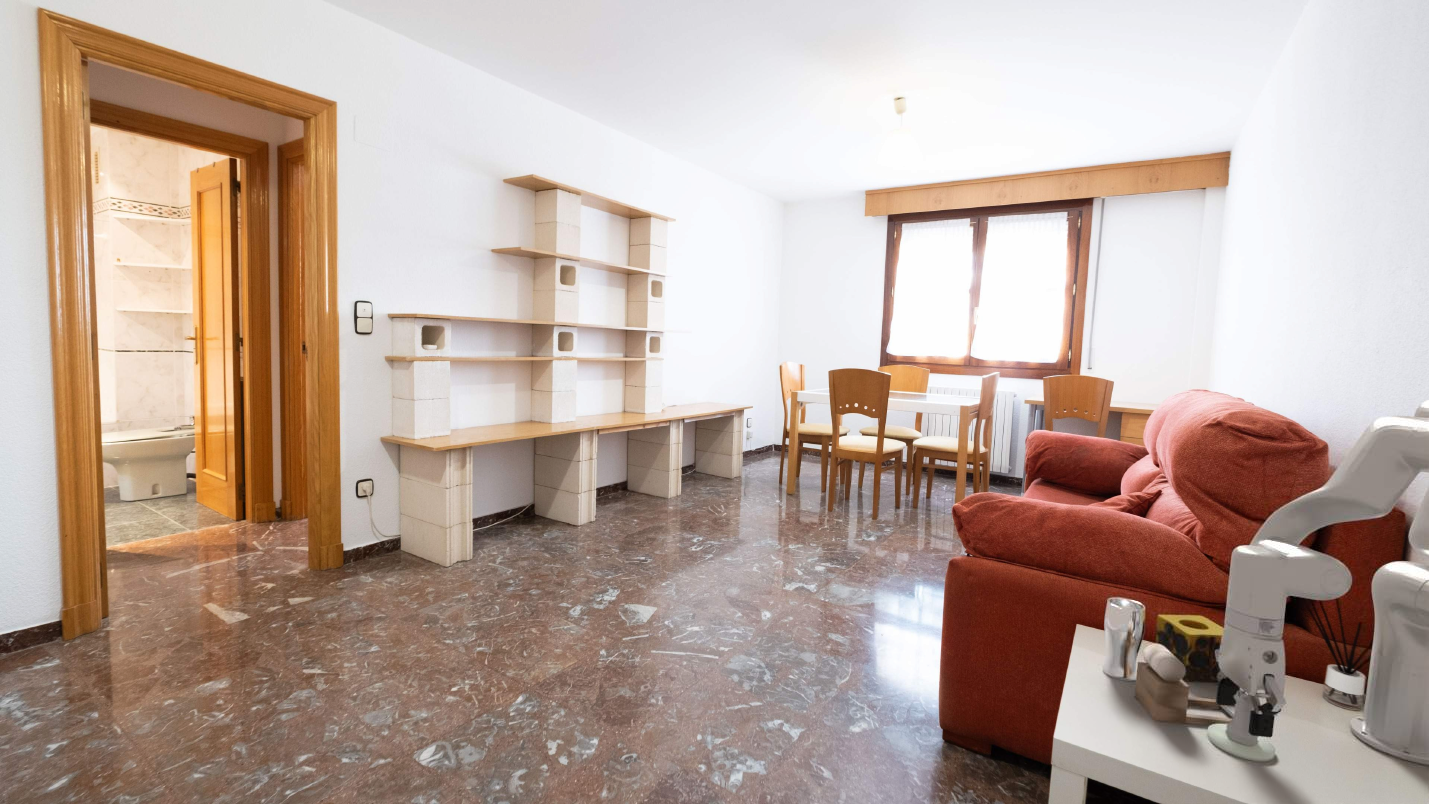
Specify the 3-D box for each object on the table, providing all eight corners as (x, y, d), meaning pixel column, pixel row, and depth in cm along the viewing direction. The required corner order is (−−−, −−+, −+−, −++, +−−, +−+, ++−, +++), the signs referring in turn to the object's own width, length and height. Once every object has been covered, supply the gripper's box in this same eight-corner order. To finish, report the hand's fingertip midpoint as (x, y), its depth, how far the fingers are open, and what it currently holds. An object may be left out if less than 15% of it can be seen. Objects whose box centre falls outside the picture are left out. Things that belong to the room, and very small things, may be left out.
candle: (1235, 684, 133) (1240, 636, 132) (1185, 682, 133) (1189, 635, 132) (1199, 659, 143) (1203, 614, 142) (1152, 657, 143) (1156, 613, 142)
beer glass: (1146, 684, 131) (1152, 612, 130) (1107, 680, 133) (1114, 608, 131) (1131, 667, 138) (1137, 598, 137) (1095, 663, 140) (1101, 595, 138)
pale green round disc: (1252, 732, 116) (1253, 726, 116) (1288, 764, 107) (1288, 759, 107) (1196, 726, 117) (1196, 720, 117) (1226, 757, 109) (1227, 752, 108)
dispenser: (1220, 705, 124) (1226, 647, 123) (1246, 730, 116) (1253, 668, 115) (1134, 696, 127) (1139, 639, 126) (1155, 720, 119) (1160, 660, 118)
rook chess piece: (1260, 750, 109) (1265, 704, 108) (1226, 741, 111) (1231, 696, 111) (1255, 736, 113) (1260, 692, 112) (1223, 728, 115) (1227, 684, 114)
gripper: (1317, 647, 101) (1304, 754, 103) (1246, 602, 118) (1236, 694, 120) (1262, 642, 102) (1250, 748, 104) (1199, 598, 119) (1190, 690, 121)
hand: (1242, 719), depth 112 cm, fingers open, 8 cm apart
